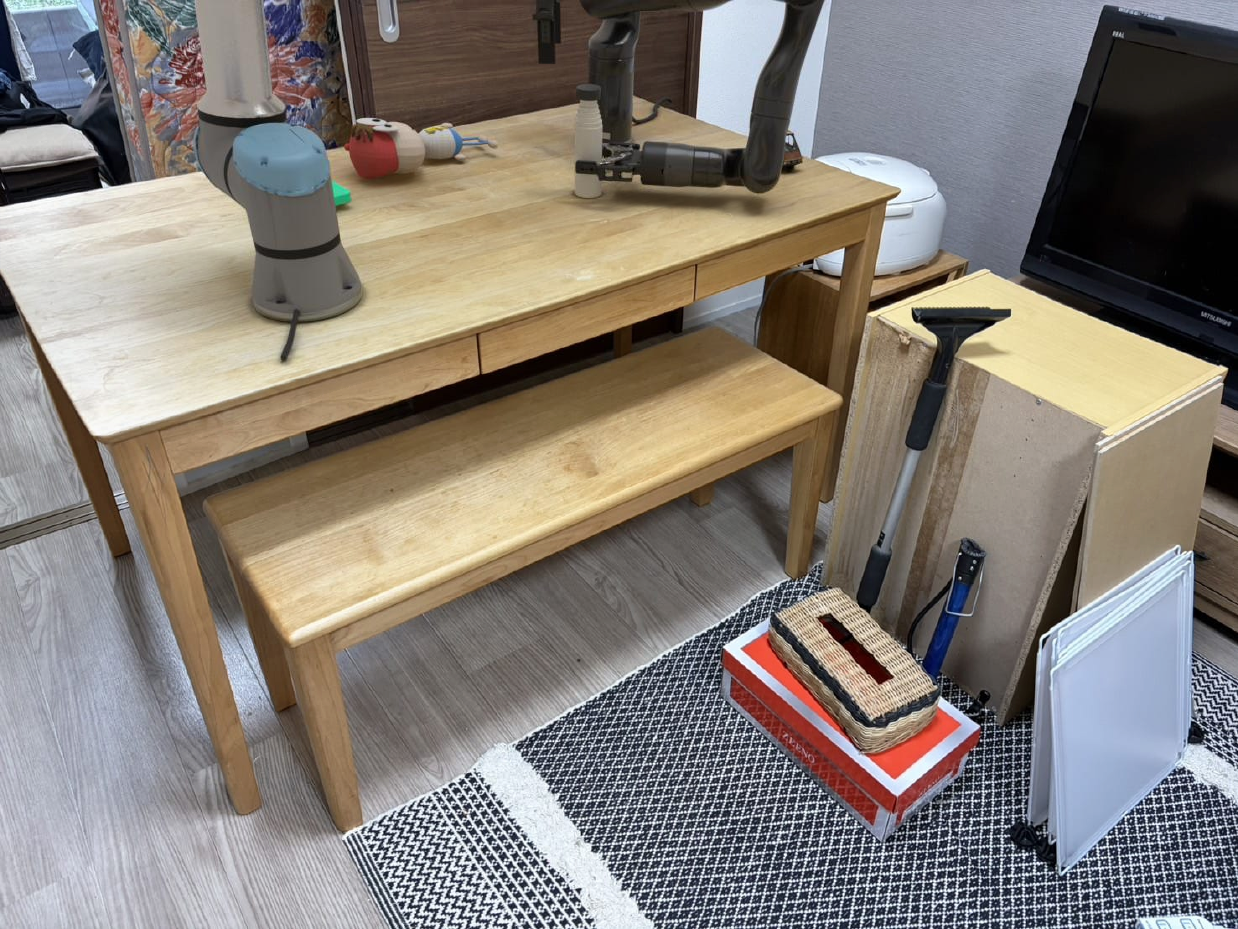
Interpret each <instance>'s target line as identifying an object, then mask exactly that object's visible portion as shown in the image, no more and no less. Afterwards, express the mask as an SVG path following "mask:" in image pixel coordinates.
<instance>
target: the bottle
mask: <svg viewBox="0 0 1238 929" xmlns="http://www.w3.org/2000/svg"><path fill="white" fill-rule="evenodd" d="M575 117H576V118H575V120H574V164H575V163H576V161H577V160H585V161H596V164H597V162H598V161H603V159H602V119H601V115H600V111H599V109H598V105H597V100H595V101H584V100H580V99H579V104H578V109H577V113H576V116H575ZM602 183H603V181H599V180H598V177H597V176H596V175H590V174H577V173H576V172H575V171H574V194H575V195H576V196H577V197H578V198H579V197H580V198H583V199H593V198H598V197H600V196H601V195H602V187H603V186H602Z"/></svg>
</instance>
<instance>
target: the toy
mask: <svg viewBox="0 0 1238 929" xmlns="http://www.w3.org/2000/svg"><path fill="white" fill-rule="evenodd" d="M355 122H356V123H354V124H353V125H352V126H351V130H350V131H351V135H350V138H349V141H348V143H345V144H344V145H343V148H344V150H345V151H346V152H348V153H349V154H348V155H349V158H350V161H351V164H352V166H353V168H354V169H355V172H356V174H357V175H358V176H359V177H360V178H362V179H366V180H373V179H378V178H381V177H385V176H388V175H391V174H394V173H395V174H400V175H401V174H403V175H404V174H409V173H412V172H415V171H417V170H418V169H419V168H420V167H421V166H422V165H423V163H424V160H425V158H428V159H432V160H446V159H450V158H453V157H454V159H455V160H457V161H464V160H466V159H467V157H466V155H465V154H462V153H461V151H462V149H463V147H465V146H466V147H467V146H468V147H469V146H470V147H471V146H482V145H483V146H484V145H487V146H488V147H489V148H490V149H493V150H495V149H498V147H499V143H498V142H497V140H494V139H488V138H487V137H486V136H485V135H483V134H478V135H477V136H474V137H473V136H472V137H462V136H461V135H460V134H459V133H458V132H457V131H456V130H454V129H453V124H452V123H450V122H443V123H442V124H438V125H434V126H433V125H432V126H429V127H426V128H423V129H422V130H420V131H419V132H417V131H416V129H414V127H413V126H411V125H409V124H406V123H403V122H400V121H399V120H397V121H388V122H387V120H384V119H382V118H374V117H362V118H358V119H356V121H355ZM475 140H477V142H468V141H475Z"/></svg>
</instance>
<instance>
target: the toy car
mask: <svg viewBox="0 0 1238 929" xmlns="http://www.w3.org/2000/svg"><path fill="white" fill-rule="evenodd" d="M790 136H791V137H792V144H790ZM786 137H788V138H787V140H788V141H787V140H786V141H787V142H786V141H785V149H784V157H783V164H782V168H785V169H786V171H789V172H792V171H794V169H795V166H797V165H800V164H803V163H804V162H803V159H804V157H803V156H802V153H801V149H800V147H799V144H798V141H797V140H796V137H795V133H794V132H793V131H792V130H790V129H788V131H787V134H786Z"/></svg>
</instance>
